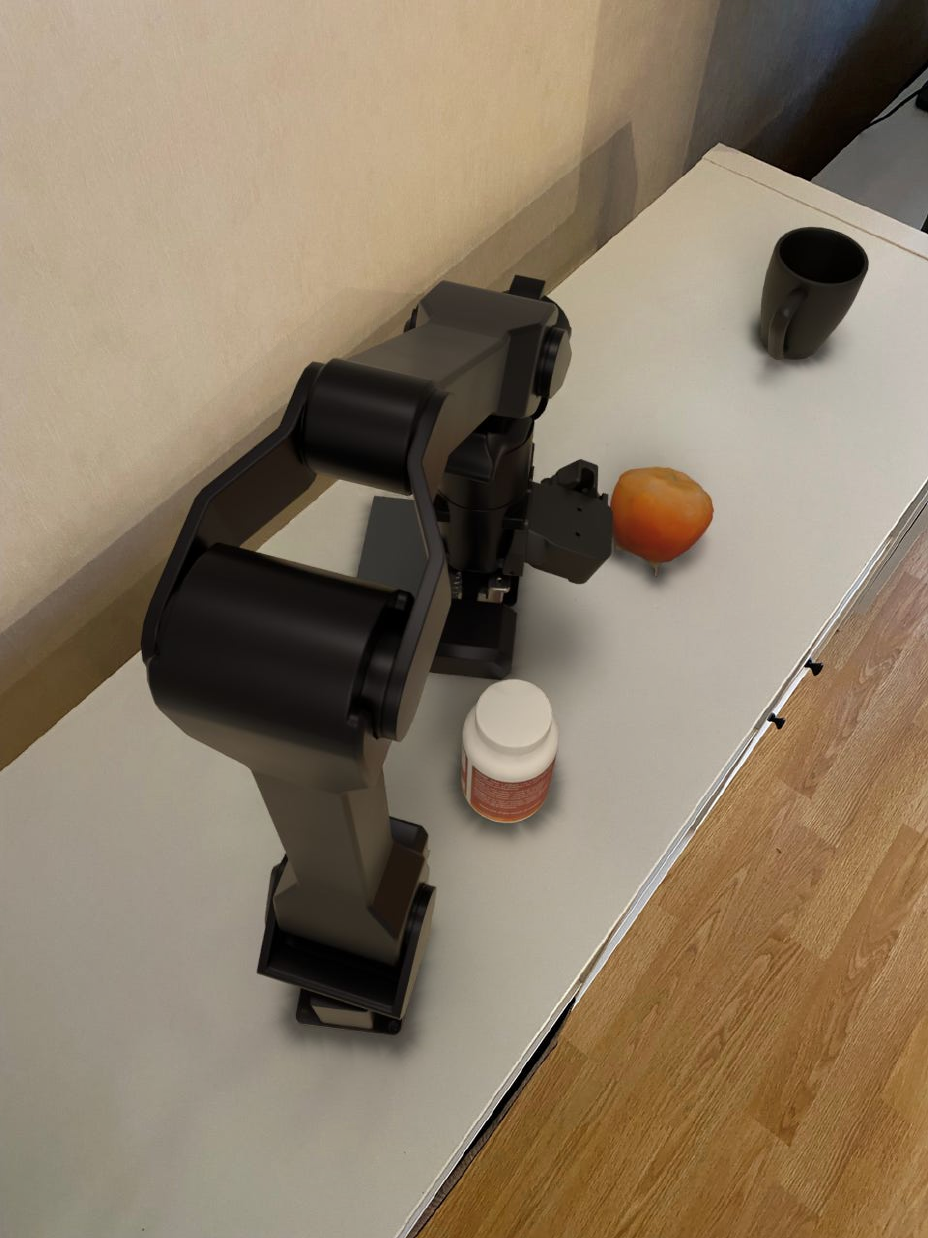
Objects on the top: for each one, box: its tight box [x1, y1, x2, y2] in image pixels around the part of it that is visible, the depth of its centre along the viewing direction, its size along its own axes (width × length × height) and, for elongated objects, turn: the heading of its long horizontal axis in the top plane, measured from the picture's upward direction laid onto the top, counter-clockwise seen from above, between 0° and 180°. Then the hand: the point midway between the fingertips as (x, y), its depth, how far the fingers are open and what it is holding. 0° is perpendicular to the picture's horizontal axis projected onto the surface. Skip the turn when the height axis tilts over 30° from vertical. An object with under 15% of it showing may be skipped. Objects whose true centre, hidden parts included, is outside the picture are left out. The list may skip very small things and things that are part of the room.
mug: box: [760, 226, 870, 361], centre depth 88 cm, size 8×12×10 cm
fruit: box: [609, 466, 715, 578], centre depth 77 cm, size 8×8×8 cm
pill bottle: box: [460, 678, 560, 824], centre depth 63 cm, size 6×6×11 cm
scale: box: [355, 495, 514, 610], centre depth 75 cm, size 14×12×4 cm
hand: (474, 614), depth 71 cm, fingers closed, pressing on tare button
